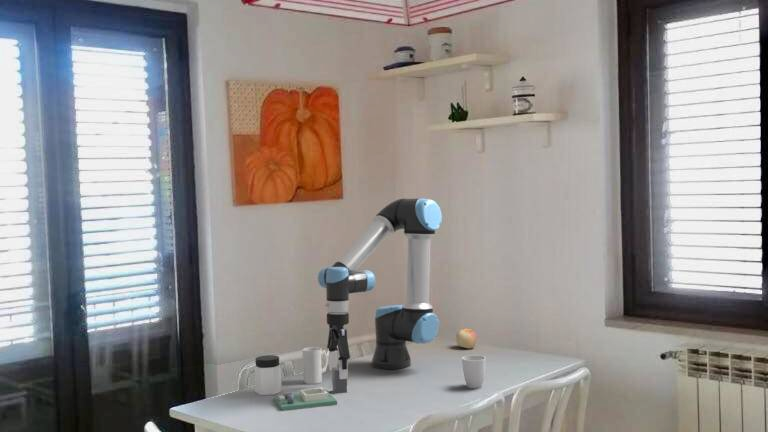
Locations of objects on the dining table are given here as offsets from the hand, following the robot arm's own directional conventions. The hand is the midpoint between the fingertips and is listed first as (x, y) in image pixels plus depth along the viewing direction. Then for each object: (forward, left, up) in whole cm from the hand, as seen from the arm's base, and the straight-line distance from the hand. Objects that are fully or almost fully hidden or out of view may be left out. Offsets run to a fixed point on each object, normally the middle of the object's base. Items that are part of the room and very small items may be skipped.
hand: (338, 374), depth 279 cm
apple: (-68, -46, -6) cm, 83 cm away
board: (+14, +8, -6) cm, 17 cm away
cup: (-45, +12, -6) cm, 47 cm away
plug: (0, 0, -6) cm, 6 cm away
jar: (+23, -9, -6) cm, 25 cm away
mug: (+4, -17, -6) cm, 19 cm away
